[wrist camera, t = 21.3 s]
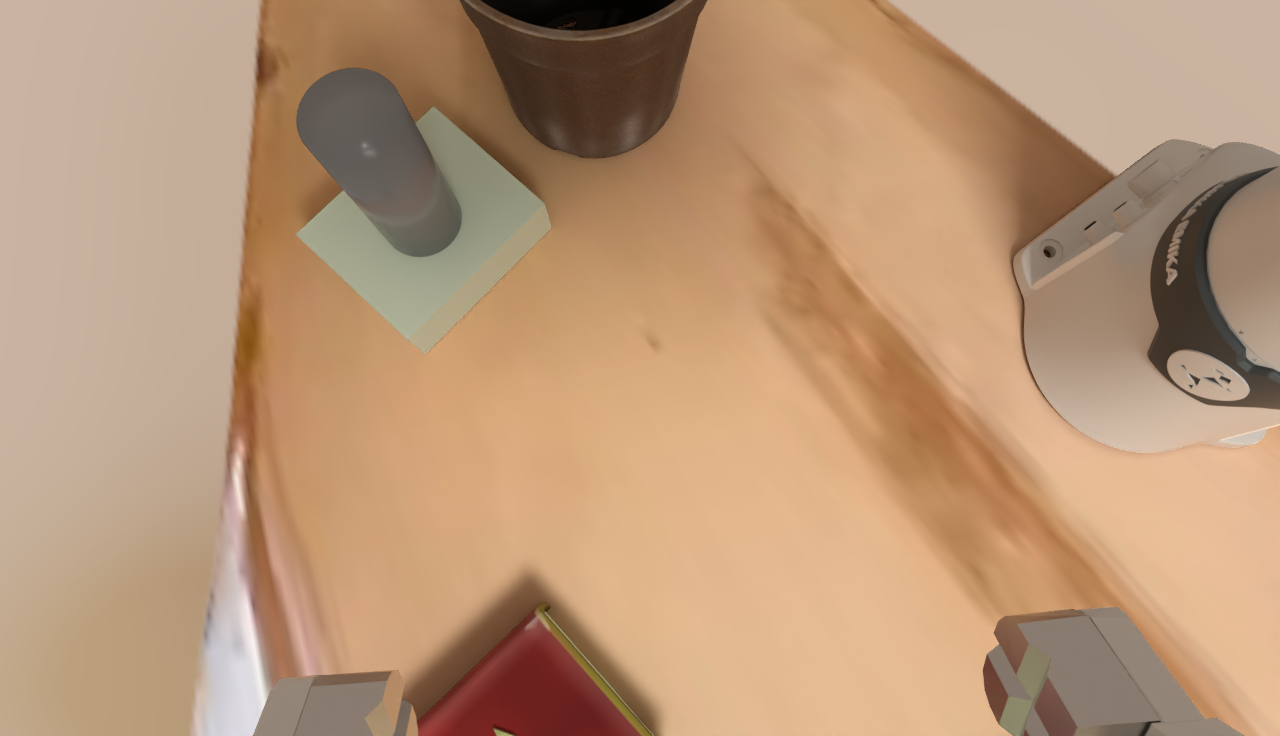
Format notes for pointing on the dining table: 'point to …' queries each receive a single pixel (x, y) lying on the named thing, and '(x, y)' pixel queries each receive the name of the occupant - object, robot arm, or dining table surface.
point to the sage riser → (458, 275)
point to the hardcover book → (533, 691)
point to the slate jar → (380, 159)
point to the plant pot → (589, 66)
